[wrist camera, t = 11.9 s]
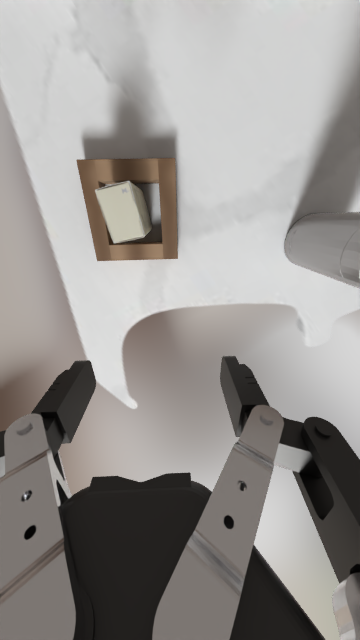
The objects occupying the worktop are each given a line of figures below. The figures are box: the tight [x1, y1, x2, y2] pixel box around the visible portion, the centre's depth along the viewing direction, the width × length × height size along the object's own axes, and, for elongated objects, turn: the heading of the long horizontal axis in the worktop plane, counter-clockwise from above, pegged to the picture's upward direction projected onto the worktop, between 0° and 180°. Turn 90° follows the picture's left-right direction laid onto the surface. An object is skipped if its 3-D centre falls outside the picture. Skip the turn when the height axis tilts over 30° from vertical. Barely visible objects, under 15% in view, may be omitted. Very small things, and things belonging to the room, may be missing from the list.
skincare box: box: [95, 181, 152, 243], centre depth 29 cm, size 6×4×12 cm
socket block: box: [77, 158, 178, 261], centre depth 33 cm, size 14×14×4 cm
